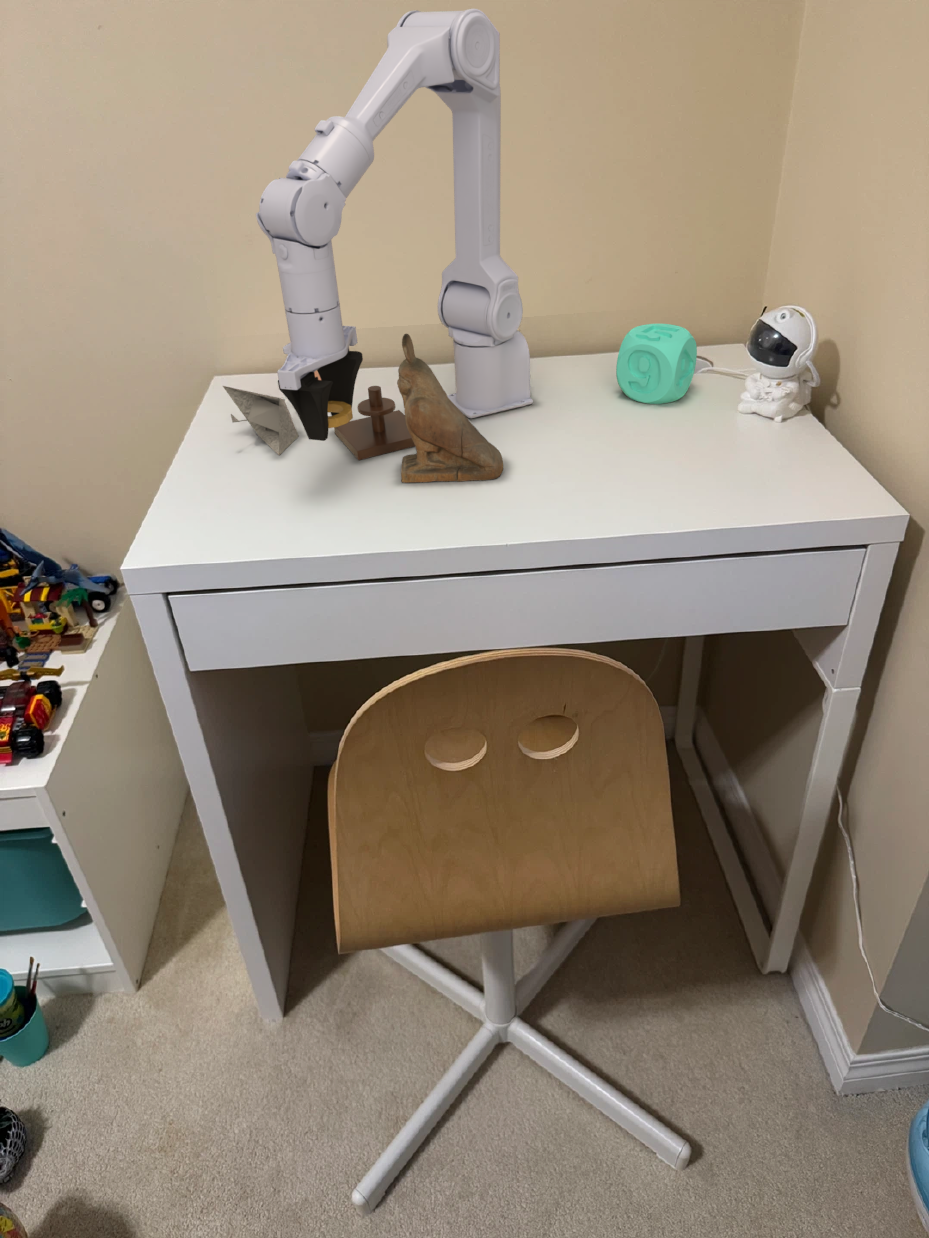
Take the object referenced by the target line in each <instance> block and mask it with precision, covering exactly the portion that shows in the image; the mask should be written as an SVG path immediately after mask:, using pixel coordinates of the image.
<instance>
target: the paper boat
mask: <svg viewBox="0 0 929 1238" xmlns="http://www.w3.org/2000/svg"><path fill="white" fill-rule="evenodd" d="M222 387H223V389H224V390H225V392H226V393H227V395H228V396H229V397H230V399H231V400H232V401H233V403H234V404H235V405H236V407H237V408H238V410H239V412H240V413H241V414H242V415H243V417H244V418H245V419H241V420H239V419H238V418H237V417H236V416H234V415H233V414H232V413H230V417H231V422H232V423H241V422H248V424H249V425H250V426H251V427H252V429H253V430H254V431H255V433H256V435H257V436H258V437H259V438H260V439H261V440H262V441H263V442H265V444H267V446H268V447H270V448H271V449H272V451H274V452H275V453H276V454H277V455H278V456H280V455H282V454H283V453H284V451H286V450H287V449H288V448H289V447H290V446H291V445H292V444H293V443H294V442H295V441H296V440H297V439H298V438H299V437H300V436H299V433H298V431H297V428H296V426H295V423H294V421H293V418H292V415H291V413H290V411H289V407H288V405H287V402H286V400H285V399H284V398H280V397H277V396H272V395H267V394H262V393H258V392H254V391H249V390H245V389H239V388H234V387H230V386H225V385H222Z"/></svg>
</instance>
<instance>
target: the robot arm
mask: <svg viewBox="0 0 929 1238" xmlns="http://www.w3.org/2000/svg"><path fill="white" fill-rule="evenodd" d="M500 35H501V34H500V32H499V30H498V29H497V28H496V26H495V25H494V24H493V22H492V21H491V20H490V18H489V17H488V16H487V14H486V13H485V12H484V11H482V10H481V9H479V8H468V9H465V10H442V11H441V10H440V11H420V10H418V9H417V10H415V9H414V10H409V11H407V12H404V14H403V15H402V16H401V17H400V18H399V19H398V21H397V24H396V26H395V27H394V28H392V29H391V30H390V31H389V32H388V34H387V36H386V48H387V49H386V51H385V52H384V54H383V55H382V57H381V58H380V60H379V62H378V64H377V65H376V66H375V68H374V69H373V71H372V73H371V75H370V76H369V78H368V79H367V81H366V83H365V84H364V86H363V87H362V88H361V91H360V92H359V93H358V95H357V97H356V98H355V100H354V101H353V103H352V105H351V107H350V108H349V110H348V111H347V113H346V115H345V116H342V115H341V116H339V115H333V116H329V117H328V118H327V119H326V120H324V119H321V120H319V122H318V123H317V124H316V126H315V127H314V131H315V133H316V134H315V135H314V137H313V138H312V140H311V141H310V142H309V143H308V145H307V146H306V148H305V149H304V151H302V152H301V154H300V156H299V157H298V158H297V159H295V160H292V162H291V163H290V164H289V166H288V172H286V176H285V177H279V178H275V179H273V180H272V181H270V182H269V183H268V184H267V185H266V187H265V188H264V190H263V192H262V194H261V196H260V199H259V204H258V205H259V207H258V208H259V210H258V212H255V217H256V221H257V223H258V226H259V229H260V230H261V231H262V233H263V234H264V235H265V236H266V237H267V238H268V240H269V241H270V245H271V252H272V254H274V256H275V258H276V266H277V271H278V277H279V282H280V288H281V294H282V300H283V306H284V313H285V318H286V319H285V320H286V324H287V331H288V336H289V342H288V343H286V344H285V345H284V346H282V352H283V354H284V355H287V356H286V357H285V360H284V362H283V365H282V366H281V367H280V368H278V370H277V371H276V373H277V378H278V380H277V385H278V389H279V391H280V392H281V393H282V394H283V395H284V396H285V397H286V399H287V400H288V401H289V403H290V404H291V405H292V407H293V409H294V410H295V413H296V414H297V417H298V418H299V421H300V422H301V424H302V427H303V429H304V431H305V434H306V436H307V438H308V440H313V441H322V442H324V441H325V442H326V441H327V439H328V438H329V428H328V416H329V413H330V416H334V415H336V414H339V413H336V412H328V401H340V402H345V403H347V404H349V405H351V408H352V409H353V402H354V392H355V386H356V381H357V377H358V374H359V371H360V367H361V365H362V362H363V360H364V358H363V353H362V352H361V351H357V350H350V347H354V346H356V345H358V335H357V327H356V326H353V325H343V319H342V310H341V303H340V296H339V288H338V280H337V272H336V265H335V257H334V250H333V249H334V248H333V242H332V240H333V238H335V237H336V236H338V234H339V232H340V229H341V225H342V215H343V209H344V207H345V206H346V201H347V198H348V197H349V196H350V195H351V193H352V192H353V190H354V189H355V187H356V186H357V184H358V183H359V182H360V180H361V179H362V178H363V177H364V175H365V174H366V172H367V171H368V170H369V169H370V167H371V165H372V164H373V162H374V161H375V149H374V141H375V140H376V138H378V136H379V135H380V134H381V133H382V131H383V130H384V129H385V128H386V127H387V126H388V124H389V123H390V122H391V121H392V120H393V118H394V117H395V116H396V115H397V114H398V112H399V111H400V110H401V109H402V108H403V107H404V105H405V104H406V103H407V102H408V101H409V100H410V98H411V97H412V96H413V95H414V94H415V92H416V91H417V90H418V89H421V88H425V89H428V90H429V91H431V92H433V93H435V94H436V95H437V97H439V99H440V100H441V101H442V102H443V103H444V104H445V106H447V107H448V108H449V110H450V111H451V113H452V151H453V152H452V153H453V155H452V156H453V157H452V158H453V196H454V197H453V199H454V200H453V201H454V202H453V204H454V243H455V244H454V246H455V247H454V250H455V251H454V252H455V258H454V259H453V260H452V261H451V262H450V263H449V264H448V265H447V266H446V267H445V268H444V269H443V270H442V272H441V289H440V292H439V296H438V300H437V315H438V318H439V320H440V321H439V322H440V323H441V324H442V325H443V326H444V327H445V328H447V331H448V337H450V338H452V344H453V345H452V346H453V347H452V348H453V363H454V378H455V379H454V380H455V381H454V382H455V393H450V394H447V397H448V398H449V399H450V400H451V401H452V402H453V404H454V405H455V406H456V407H457V408H458V409H459V410H460V411H461V412H462V413H463V415H464V416H465V417H466V418H467V419H474V418H479V417H484V416H488V415H492V414H497V413H500V412H504V411H508V410H513V409H516V408H520V407H525V406H529V405H532V404H533V403H534V399H532V398H531V353H530V349H529V345H528V341H527V339H526V337H525V335H524V334H523V333H522V332H521V331H519V330H518V329H519V327H520V326H521V323H522V319H523V313H524V309H523V307H524V306H523V301H522V298H521V295H520V289H519V276H518V274H517V273H516V272H515V271H514V270H513V269H512V267H510V265H509V264H507V262H506V261H505V260H504V259H503V258H502V256H501V144H502V143H501V142H502V141H501V139H502V138H501V137H502V135H501V133H502V132H501V127H502V126H501V122H502V121H501V120H502V119H501V117H502V116H501V115H502V113H501V112H502V111H501V110H502V109H501V108H502V103H501V102H502V97H501V95H502V93H501V84H500V82H501V81H500V80H501V78H500V77H501V76H500V75H501V74H500V71H501V70H500V66H501V65H500V64H501V61H500V60H501V58H500V57H501V56H500V55H501V51H500V49H501V47H500V46H501V45H500V44H501V43H500V42H501V40H500V39H501V38H500V37H501V36H500ZM316 370H317V371H318V373H319V375H320V378H321V380H318V377H315V373H314V372H315V371H316Z"/></svg>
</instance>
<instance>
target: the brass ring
mask: <svg viewBox="0 0 929 1238" xmlns="http://www.w3.org/2000/svg"><path fill="white" fill-rule="evenodd" d="M330 412H336V413H339V414H336V415H334V416H332V415H328V429H334V428H335V427H338V426H341V425H344V424H347V423H348V422H349V421H352V420H353V418H354V415H353V407H352V408H351V405H349V404H347V403H345V402H340V401H328V413H330Z"/></svg>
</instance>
